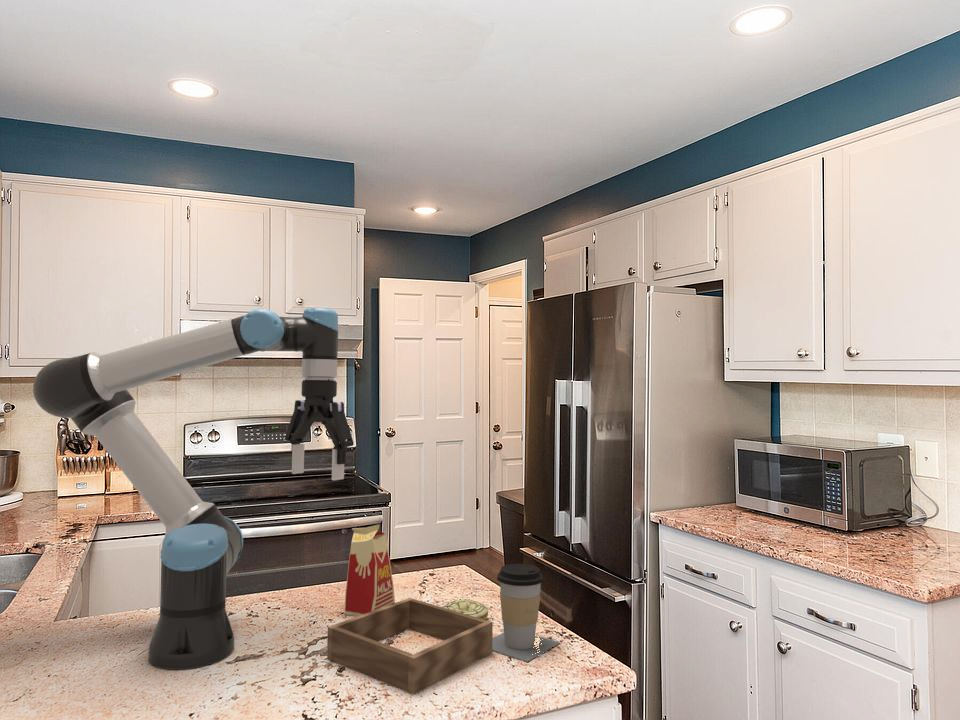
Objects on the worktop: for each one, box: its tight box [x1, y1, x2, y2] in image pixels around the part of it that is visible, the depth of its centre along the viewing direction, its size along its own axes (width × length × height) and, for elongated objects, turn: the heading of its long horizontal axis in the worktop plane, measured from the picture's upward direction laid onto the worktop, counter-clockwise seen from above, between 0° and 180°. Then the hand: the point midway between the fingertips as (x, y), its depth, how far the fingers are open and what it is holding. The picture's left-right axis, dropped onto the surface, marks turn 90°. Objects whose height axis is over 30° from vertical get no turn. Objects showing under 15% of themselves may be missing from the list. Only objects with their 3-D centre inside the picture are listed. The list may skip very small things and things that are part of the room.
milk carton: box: [344, 524, 396, 617], centre depth 154 cm, size 9×9×20 cm
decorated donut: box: [442, 598, 489, 620], centre depth 148 cm, size 10×11×4 cm
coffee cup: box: [496, 563, 544, 650], centre depth 136 cm, size 9×9×15 cm
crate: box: [326, 597, 494, 695], centre depth 129 cm, size 22×22×6 cm
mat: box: [492, 632, 561, 663], centre depth 135 cm, size 12×12×1 cm
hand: (317, 476), depth 146 cm, fingers open, 13 cm apart
